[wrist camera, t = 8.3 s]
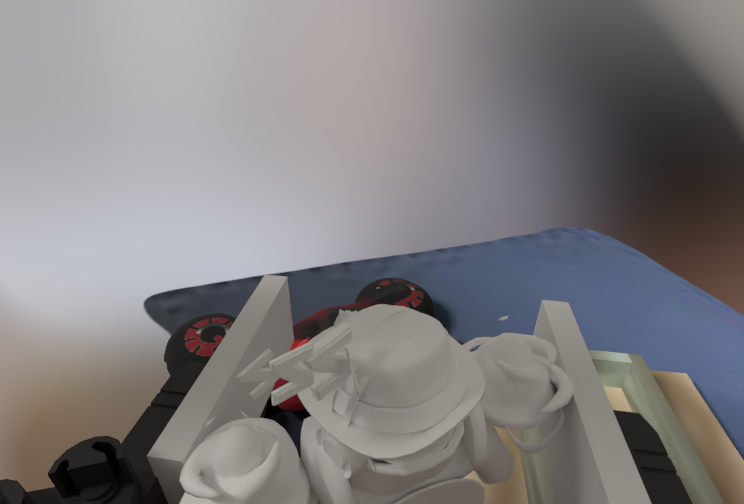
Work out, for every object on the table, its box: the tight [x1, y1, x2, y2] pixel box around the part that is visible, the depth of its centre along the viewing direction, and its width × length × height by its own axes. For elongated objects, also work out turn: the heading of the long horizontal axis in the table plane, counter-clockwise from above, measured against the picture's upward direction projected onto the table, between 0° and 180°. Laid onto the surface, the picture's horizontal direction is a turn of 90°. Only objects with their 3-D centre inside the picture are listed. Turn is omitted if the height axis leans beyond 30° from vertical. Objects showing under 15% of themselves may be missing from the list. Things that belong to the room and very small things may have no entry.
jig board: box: [464, 350, 744, 504], centre depth 29 cm, size 20×18×4 cm
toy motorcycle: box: [164, 278, 450, 418], centre depth 37 cm, size 25×5×16 cm
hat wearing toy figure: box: [179, 304, 576, 504], centre depth 11 cm, size 9×4×12 cm, turn 114°
